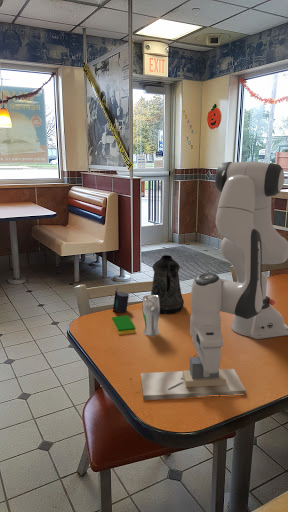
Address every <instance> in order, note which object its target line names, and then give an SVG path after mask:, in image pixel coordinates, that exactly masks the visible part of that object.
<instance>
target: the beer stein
mask: <svg viewBox="0 0 288 512" xmlns="http://www.w3.org/2000/svg"><path fill="white" fill-rule="evenodd" d="M180 268H181V266H180V264H179V263H178V262H177V261H176V260H175V259H173V257H172V256H171V255H170V254H165V255H161V258H159V260H157V261H155V263H154V264H153V265H152V270H153V278H152V286H151V292H150V295H157V296H159V299H160V314H159V315H173V314H179V313H180V312H181V311H182V310H184V309H183V308H184V303H185V300H184V297H183V294H182V288H181V283H180V276H179V271H180Z"/></svg>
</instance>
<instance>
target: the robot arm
mask: <svg viewBox="0 0 288 512" xmlns="http://www.w3.org/2000/svg"><path fill="white" fill-rule="evenodd" d="M214 182H215V188H216V189H217V190H218V191H219V192H220V193H221V194H220V196H219V201H218V204H217V209H216V215H215V227H216V229H217V231H218V233H220V235H221V236H222V237H223V239H222V240H221V241H220V242H221V243H220V246H219V247H220V253H221V255H222V256H223V258H224V259H225V260H227V261H228V262H229V263H230V264H231V267H232V268H233V269H234V271H235V274H236V281H233V280H228V279H223V278H220V276H219V275H218V274H215V273H210V272H205V273H200V274H198V275H196V276H195V277H194V279H193V281H192V284H191V291H190V308H191V314H190V319H189V322H190V323H189V335H190V336H191V340H192V344H193V347H194V349H195V352H196V353H197V357H199V358H200V361H201V363H202V366H203V376H204V377H209V375H210V374H214V373H218V371H219V369H220V367H221V366H220V365H221V357H222V348H221V347H223V346H224V339H223V335H222V326H221V324H222V323H221V320H222V319H221V312H223V313H227V314H230V315H234V317H233V321H232V324H231V330H232V331H233V332H235V333H236V334H239V335H242V336H246V337H250V338H252V339H255V340H261V339H268V338H269V339H270V338H275V337H276V338H277V337H284V336H288V325H287V324H285V319H284V317H283V315H282V314H281V313H280V312H279V310H277V309H276V308H274V307H273V306H274V305H275V304H276V302H275V300H274V299H272V298H271V297H269V296H268V295H267V287H268V279H267V276H265V274H263V273H262V272H263V268H262V267H263V265H276V264H277V265H279V264H283V263H285V262H286V261H287V260H288V240H287V239H286V238H285V237H283V236H282V235H281V234H280V233H279V232H278V231H277V230H276V228H275V227H274V225H273V223H272V222H273V220H272V197H274V196H276V195H278V194H279V193H280V192H281V190H282V188H283V187H284V184H285V173H284V168H283V167H282V166H281V165H280V164H277V163H275V162H274V163H273V162H270V163H267V162H264V161H263V162H261V161H235V162H232V161H228V162H227V161H226V162H222V163H221V164H220V165H219V166H218V167H217V168H216V172H215V177H214Z"/></svg>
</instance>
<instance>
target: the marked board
mask: <svg viewBox="0 0 288 512" xmlns="http://www.w3.org/2000/svg"><path fill="white" fill-rule="evenodd" d="M221 370H222V372H223V374H224V376H225V378H226V385H222V386H202V387H186V385H185V382H184V379H183V371H184V370H181V371H179V370H178V371H161V372H158V371H157V372H141V373H140V379H141V380H140V383H141V390H142V398H143V399H142V400H143V401H150V400H152V401H153V400H154V401H155V400H172V399H173V400H174V399H175V400H177V399H191V398H190V397H197V396H209V395H219V396H218V397H221V396H220V395H234V394H246V392H247V390H246V388H245V386H244V385H243V383H242V381H241V380H240V377H239V376H238V373H237V372H236V370H235V369H234V368H226V369H223V368H222V369H221ZM246 395H247V394H246ZM188 397H189V398H188ZM197 398H198V397H197Z"/></svg>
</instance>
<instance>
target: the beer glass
mask: <svg viewBox="0 0 288 512" xmlns="http://www.w3.org/2000/svg"><path fill="white" fill-rule="evenodd" d="M141 309H142V316H143V322H144V328H143V329H144V330H143V334H144V335H145V336H147V337H155V336H158V335H159V334H160V330H159V320H160V315H161V314H160V299H159V296H157V295H151V294H146V295H144V296H142V307H141Z"/></svg>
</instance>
